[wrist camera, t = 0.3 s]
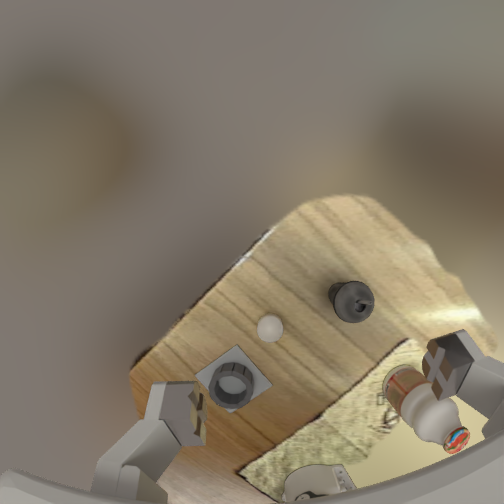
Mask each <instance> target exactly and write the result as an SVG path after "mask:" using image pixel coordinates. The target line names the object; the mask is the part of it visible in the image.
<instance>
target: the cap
mask: <svg viewBox="0 0 504 504" xmlns="http://www.w3.org/2000/svg"><path fill="white" fill-rule="evenodd" d="M257 333H258V336H259V337H260V339H262V340H263V341H265V342H269V343H271V342H275V341H277V340H279V339H280V338H281V336H282V334H283V325H282V321H281V319H280V317H279V316H278V315H276V314H273V313H267V314H264V315H263V316H262V317H261V318H260V319H259V321H258V326H257Z"/></svg>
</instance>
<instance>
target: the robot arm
mask: <svg viewBox="0 0 504 504" xmlns="http://www.w3.org/2000/svg"><path fill="white" fill-rule="evenodd" d="M427 349H428V352H427V353H426V354H425V355H424V357H423V361H422V370H423V373H424V375H425V377H426V379H427V380H429V381H430V382H432V386H431V389H432V391H433V393H434V395H435V396H436V398H437V400H438V401H440V400H443V399H446V398H448V397H451V396H454V395H456V394H457V395H456V396H457V397H459V398H460V399H461V400H463V401H464V402H466V403H467V404H468V405H470V406H471V407H473V408H474V409H475V410H477V411H478V412H480V413H481V414H483V415H484V416H485V417H487V418H488V419H489V420H488V422H487V423H486V424H485V425H484V427H483V428H482V433H483V435H484V437H485V439H484V440H483V441H481V442H479V443H477V444H475V445H473V446H471V447H469V448H467V449H465V450H463V451H461V452H459V453H457V454H455V455H453V456H450V457H448V458H446V459H443V460H441V461H439V462H436V463H434V464H432V465H429V466H427V467H424V468H422V469H419V470H416V471H414V472H411V473H408V474H405V475H402V476H399V477H396V478H393V479H390V480H387V481H384V482H380V483H377V484H373V485H370V486H366V487H363V488H359V489H357V488H356V486H355V485H354V483H353V481H352V480H351V478H350V476H349V475H348V473H347V471H346V470H345V468H344V466H343V465H341V464H338V465H332V466H327V465H310V466H305V467H302V468H300V469H298V470H296V471H294V472H293V473H291V474H290V475H289V476H288V477H287V479H286V481H285V484H284V488H285V490H284V492H283V494H282V500H283V501H285V502H282V503H272V504H504V363H502V362H500V361H498V360H496V359H494V358H492V357H490V356H487V357H485V356H484V354H483V353H482V351H481V350H480V349H479V347H478V346H477V345H476V343H475V342H474V341H473V339H472V338H471V337H470V335H469V334H468V333H467V331H466V330H464V329H462V330H459V331H456V332H453V333H449V334H446V335H443V336H440V337H437V338H434V339H431V340H430V341H429V342H428V344H427ZM206 420H207V404H206V400H205V397H204V395H203V394H202V393H200V385H199V383H198V381H168V382H154V383H153V385H152V387H151V391H150V395H149V399H148V404H147V408H146V412H145V417H144V420H139V421H138V422H137V423H136V424H135V425H134V426H133V427H132V428H131V429H130V430H129V431H128V432H127V433H126V434H125V435H124V436H123V437H122V438H121V439H120V440H119V441H118V442H117V443H116V444H115V445H114V446H112V447H111V448H110V449H109V450H108V451H107V452H106V453H105V454H104V455H103V456H102V457H101V458H100V459H99V460H98V463H97V467H96V471H95V475H94V479H93V483H92V487H91V491H86V490H82V489H78V488H75V487H71V486H68V485H64V484H61V483H57V482H54V481H51V480H48V479H45V478H42V477H39V476H36V475H33V474H30V473H28V472H25V471H23V470H20V469H16V468H11V469H9V470H7V471H6V472H4V473H3V474H2V475H1V476H0V504H167V499H168V494H167V492H166V491H165V490H163V489H162V488H161V487H160V486H159V485H157V484H156V482H157V480H158V479H159V478H160V476H161V475H162V474H163V472H164V471H165V470H166V468H167V467H168V466H169V464H170V463H171V462H172V460H173V459H174V458H175V456H176V455H177V454H178V452H179V451H180V449H181V448H182V447H181V446H205V441H206V428H205V426H204V424H203V423H204V422H205V421H206ZM339 471H340V472H339Z"/></svg>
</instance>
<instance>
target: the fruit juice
mask: <svg viewBox="0 0 504 504" xmlns="http://www.w3.org/2000/svg"><path fill="white" fill-rule="evenodd" d="M431 386H432V382H430V381H429V380H427V379H426V377H425V376H423V375H422V374H421V373H420V372H419V371H417V370H416V369H415V368H413V367H411V366H408V365H402V366H398V367H396V368H394V369H393V370H392V371H390V372H389V374H388V375H387V376H386V378H385V380H384V383H383V393H384V395H385V397H386V398H387V400H388V401H389V402H390V403H391V405H392V406H393V407H394V409H395V410H396V411H397V412H398V414H399V415H400V416H401V417H402V419H403V420H404V421H405V422H406V423H407V424H408V425H409V426H410V427H411V428H413V429H414V432H415V434H416V435H417V436H418V437H419V438H420V439H421V440H423V441H426V442H434V443H437V444H440V445H443V448H444V450H445V451H446V452H447V453H449V454H453V453H456V452H458V451H460V450H461V449H462V448H463V447H464V446H465V445H466V444H467V442H468V440H469V438H470V432H469V431H468V429H467V428H465V427H464V426H462V425H461V422H460V419H459V416H458V415H459V412H458V407H457V405H456V403H455V402H454V401H453V400H452V399H451V398H449V397H448V398H446V399H443V400H440V401H438V400H437V398H436V396H435V395H434V393H433V391H432V389H431Z"/></svg>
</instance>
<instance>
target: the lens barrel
mask: <svg viewBox="0 0 504 504" xmlns="http://www.w3.org/2000/svg"><path fill="white" fill-rule="evenodd" d="M195 376H196V377H197V379H198V380H199V381H200V382H201V383H202V384H203V385H204V386H205V387H206V388H207V390H208V391H209V394H210V397H211V399H212V400H213V401H214V402H215V403H216V404H217V405H218V404H219V406H221V407H224V408H225V409H226V410H227V411H228V412H229V413H232V412H233V411H235V410H236V409H239V408H241V407H243V406H244V405H246V404H248V403H249V401H250V400H252V399H253V398H255V397H256V396H258V395H259V394H261V393H262V392H264V391H265V390H267V389H268V388H270V387H271V386H273V384H272V383H271V382H270V381H269V380H268V379H267V378H266V377H265V376H264V375H263V373H262V372H261V371H260V370H259V369H258V368H257V367H256V366H255V364H254V363H253V362H252V361H251V360H250V359H249V358H248V356H247V355H246V354H245V353H244V352H243V351H242V349H241V348H240V347H239V346H238V345H235V346H234V347H233V348H231V349H230V350H228V351H227V352H226V353H224V354H223V355H222V356H220V357H219V358H218V359H216V360H215V361H213V362H212V363H211V364H209V365H208V366H207V367H205V368H204V369H202V370H201V371H199V372H198V373H197V374H195Z"/></svg>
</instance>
